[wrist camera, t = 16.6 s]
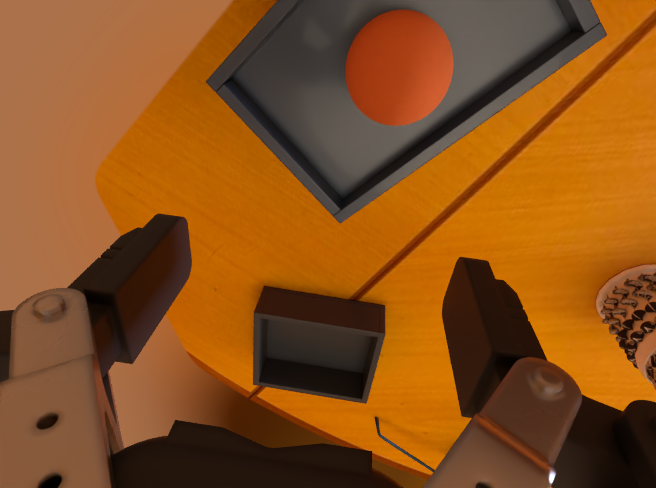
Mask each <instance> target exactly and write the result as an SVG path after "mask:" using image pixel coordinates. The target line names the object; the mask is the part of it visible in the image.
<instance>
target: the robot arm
mask: <svg viewBox="0 0 656 488" xmlns="http://www.w3.org/2000/svg"><path fill="white" fill-rule="evenodd" d="M191 265H192V259H191V250H190V241H189V232H188V224H187V220H186V219H185V218H184V217H179V216H172V215H165V214H157V215H155V216H154V217H153V218H152V219H151V220H150V221H149V222H148V223H147V224H146V225H145V226H144V227H143V228H136V229H134V230H132V231H130V232H128V233H126V234H124V235H122V236H121V237H119V238H118V240H116V241H115V242H114V243H113V244H112V245H111V246H110V249H107V250H106V251H105V252H104V253H103V254H102V255H101V258H98V259H97V260H96V261H95V262H94V263H92V264H91V265H90V266H89V267H88V268H87V269H86V270H85V271H84V272H83V273H82V274H81V275H80V276H79V277H78V278H77V279H76V280H75V281H74V282H73V283H72V284H71V285H70V286H68V287H67V288H57V289H51V290H46V291H43V292H40V293H37V294H35V295H33V296H31V297H29V298H27V299H26V300H25V301H23V302H22V303H21V304H19V305H18V307H17V308H16V309H15V310H9V311H0V488H403V487H401V486H400V485H399V484H398V483H397V482H395V481H394V480H393V479H391V478H390V477H388V476H387V475H385V474H383V473H382V472H380V471H378V470H376V469H374V468H372V451H367V450H361V449H355V448H348V447H342V446H336V445H329V444H313V445H303V446H292V447H282V448H268V447H265V446H263V445H260V444H258V443H256V442H253V441H252V440H249V439H247V438H245V437H243V436H240V435H238V434H236V433H234V432H232V431H229V430H227V429H225V428H222V427H216V426H210V425H203V424H197V423H191V422H185V421H178V420H175V422H174V424H173V426H172V428H171V431H170V433H169V435H168V436H162V437H157V438H152V439H148V440H145V441H142V442H139V443H136V444H134V445H131V446H129V447H127V448H124V446H123V442H122V438H121V433H120V428H119V422H118V416H117V411H116V406H115V400H114V395H113V390H112V384H111V379H110V375H109V372H108V371H109V369H110V368H111V366H112V365H113V364H114V362H115V361H116V362H123V363H129V364H133V362H134V361H135V359H136V358H137V356H138V355H139V353H140V352H141V350H142V349H143V347H144V346H145V344H146V342H147V341H148V339H149V338H150V336H151V335H152V333H153V332H154V330H155V329H156V327H157V326H158V324H159V323H160V321H161V320H162V318H163V317H164V315H165V314H166V312H167V311H168V309H169V307H170V306H171V304H172V303H173V301H174V300H175V298H176V297H177V295H178V294H179V292H180V291H181V289H182V288H183V286H184V285H185V283H186V281H187V280H188V278H189V275H190V271H191ZM442 318H443V324H444V329H445V334H446V339H447V344H448V349H449V354H450V359H451V364H452V369H453V375H454V380H455V385H456V390H457V395H458V400H459V405H460V410H461V415H462V416H463V417H469V418H472V419H471V421H470V422H469V424H468V425H467V426H466V428H465V429H464V431H463V432H462V433H461V435H460V436H459V438H458V439H457V440H456V442H455V443H454V445H453V446H452V447H451V449H450V450H449V452H448V453H447V454H446V456H445V457H444V459H443V460H442V461H441V463H440V464H439V466H438V467H437V468H436V470H435V471H434V473H433V474H432V475H431V477H430V478H429V480H428V481H427V482H426V484H425V485H424V487H423V488H550V487H552V488H656V402H652V401H647V400H636V401H633V402H631V403H630V404H629V405H628V406H627V407H626V408H625V410H624V411H620V410H618V409H615V408H613V407H610V406H608V405H605V404H603V403H600V402H598V401H595V400H593V399H590V398H588V397H586V396H583V395H582V394H581V391H580V389H579V387H578V385H577V384H576V382H575V381H574V380H573V378H572V377H571V376H570V375H569V374H568V373H566V372H565V371H564V370H563V369H561V368H560V367H558V366H557V365H555V364H553V363H551V362H548V361H547V359H546V356H545V354H544V352H543V350H542V348H541V345H540V343H539V341H538V339H537V337H536V335H535V332H534V330H533V328H532V326H531V324H530V321H528V317H527V315H526V313H525V310H523V306H522V304H521V302H520V300H519V297H518V295H517V293H516V292H515V291H514V290H513V289H512V288H511V287H510V286H509V285H508V284H507V283H506V282H505V281H504V280H497V279H495V277H494V274H493V272H492V270H491V267H490V265H489V263H488V261H486V260H479V259H472V258H465V257H460V258H459V259H458V260H457V262H456V265H455V268H454V271H453V274H452V276H451V279H450V282H449V285H448V288H447V291H446V294H445V297H444V301H443V307H442Z"/></svg>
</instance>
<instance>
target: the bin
mask: <svg viewBox="0 0 656 488" xmlns="http://www.w3.org/2000/svg"><path fill="white" fill-rule="evenodd" d="M384 337H385V306H384V305H378V304H372V303H366V302H359V301H353V300H347V299H341V298H334V297H328V296H322V295H316V294H310V293H303V292H297V291H291V290H285V289H278V288H272V287H266V286H264V288H263V291H262V293H261V296H260V298H259V301H258V304H257V306H256V309H255V311H254V353H253V385H259V386H264V387H270V388H276V389H282V390H288V391H294V392H300V393H306V394H312V395H318V396H324V397H330V398H335V399H341V400H347V401H353V402H359V403H365V404H366V403H367V400H368V396H369V393H370V389H371V385H372V381H373V378H374V374H375V370H376V367H377V363H378V359H379V356H380V352H381V348H382V345H383V341H384Z"/></svg>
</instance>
